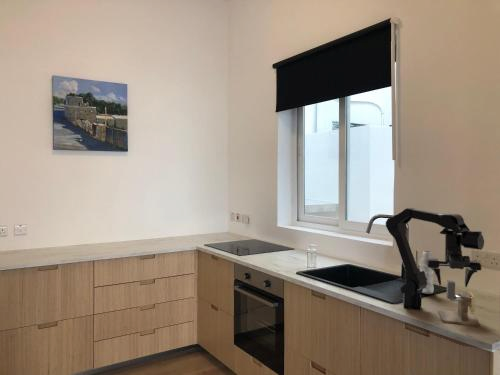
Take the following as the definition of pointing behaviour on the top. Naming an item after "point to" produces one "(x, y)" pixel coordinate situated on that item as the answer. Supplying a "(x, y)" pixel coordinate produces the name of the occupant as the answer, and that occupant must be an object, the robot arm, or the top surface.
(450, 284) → the shaft
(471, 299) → the bar
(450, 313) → the bearing stand
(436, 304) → the top surface
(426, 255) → the plastic bottle
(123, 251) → the top surface
